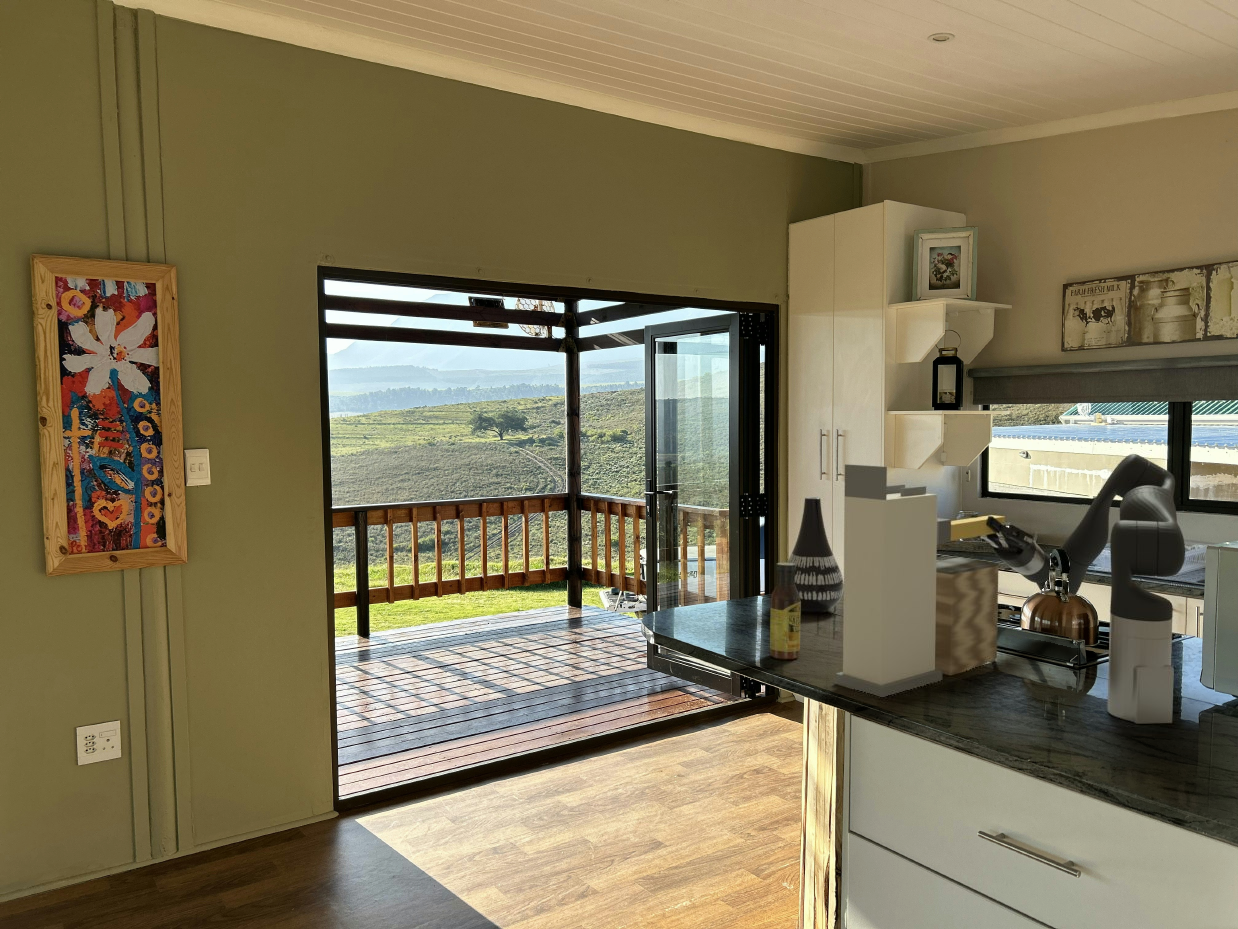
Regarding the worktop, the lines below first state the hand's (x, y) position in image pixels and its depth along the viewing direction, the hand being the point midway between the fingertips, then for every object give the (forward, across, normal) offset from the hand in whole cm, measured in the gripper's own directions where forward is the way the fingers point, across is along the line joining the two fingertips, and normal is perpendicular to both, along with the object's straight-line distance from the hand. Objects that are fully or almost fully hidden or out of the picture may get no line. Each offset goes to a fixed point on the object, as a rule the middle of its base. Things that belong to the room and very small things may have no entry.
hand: (980, 519), depth 193 cm
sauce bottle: (+14, -24, +41) cm, 50 cm away
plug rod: (+3, 0, +5) cm, 6 cm away
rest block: (-7, 0, +30) cm, 30 cm away
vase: (-18, -50, +24) cm, 59 cm away
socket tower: (+11, 0, +40) cm, 41 cm away
